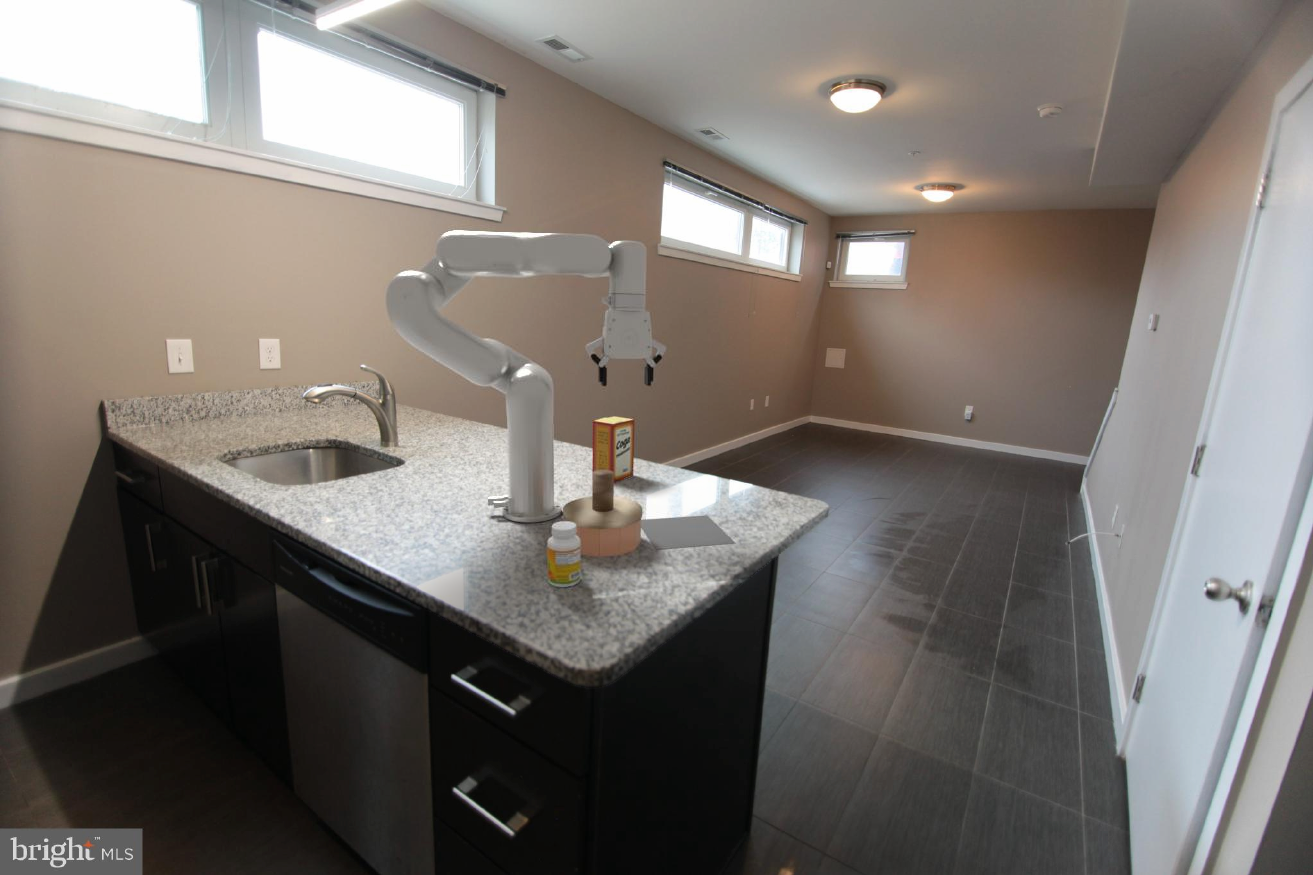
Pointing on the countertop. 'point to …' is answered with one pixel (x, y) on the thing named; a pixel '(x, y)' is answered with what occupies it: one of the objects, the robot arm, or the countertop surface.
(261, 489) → the countertop surface
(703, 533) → the mat
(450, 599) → the countertop surface
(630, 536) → the bowl
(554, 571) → the supplement bottle
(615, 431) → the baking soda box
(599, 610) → the countertop surface
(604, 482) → the lid
